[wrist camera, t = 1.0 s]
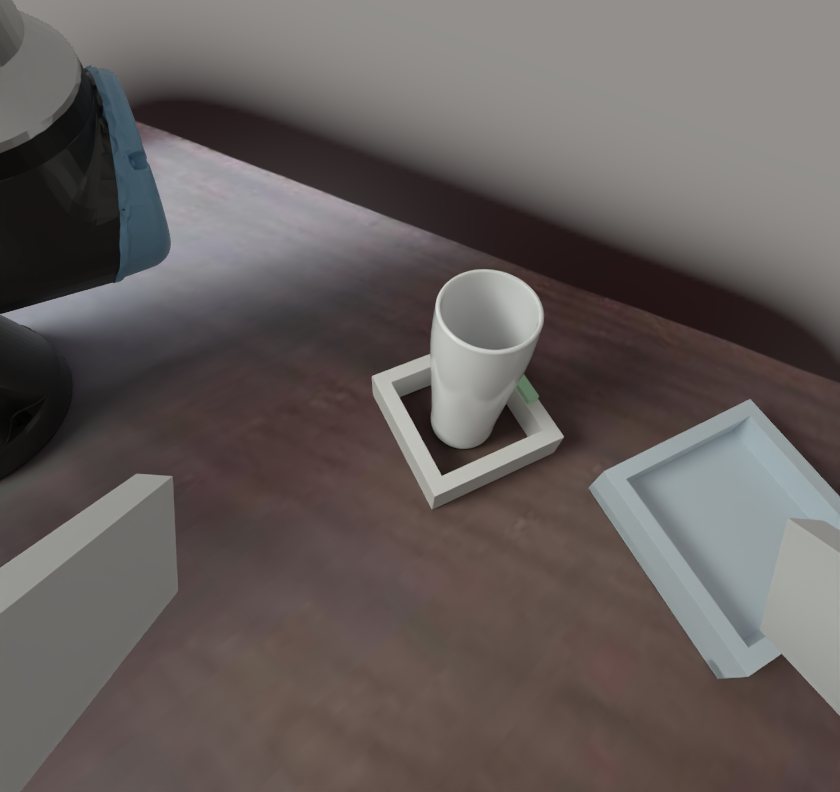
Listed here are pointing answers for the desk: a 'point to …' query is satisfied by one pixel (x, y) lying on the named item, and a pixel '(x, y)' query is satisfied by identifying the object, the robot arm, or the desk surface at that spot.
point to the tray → (716, 526)
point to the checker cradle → (479, 472)
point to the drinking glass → (479, 351)
